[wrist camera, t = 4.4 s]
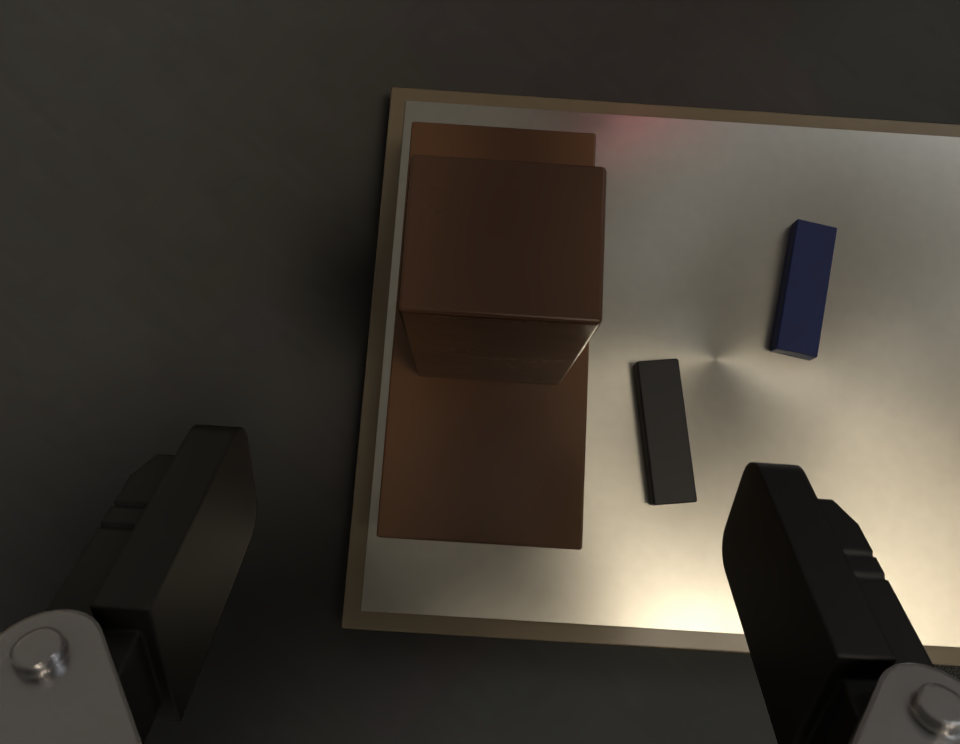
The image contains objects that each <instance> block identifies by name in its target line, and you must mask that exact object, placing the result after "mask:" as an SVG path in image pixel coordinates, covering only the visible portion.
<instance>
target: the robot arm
mask: <svg viewBox="0 0 960 744" xmlns="http://www.w3.org/2000/svg"><path fill="white" fill-rule="evenodd" d="M256 505H257V504H256V493H255V486H254V479H253V472H252V465H251V458H250V451H249V445H248V438H247V434H246V431H245V430H244V428H242V427H227V426H212V425H194V426H193V427H192V428H191V429H190V430H189V432H188V434H187V435H186V437H185V439H184V441H183V442H182V444H181V446H180V448H179V449H178V451H177V453H176V455H159V454H157V455H156V456H155V457H153V458H152V459H151V460H150V461H148V462H147V463H146V464H144V465H143V466H142V467H141V468H139V469H138V470H137V471H136V472H134V473H133V474H132V475H130V477H129V478H128V480H127V482H126V483H125V485H124V486H123V488H122V490H121V491H120V493H119V495H118V496H117V498H116V499H115V501H114V506H111V507H110V509H109V511H108V512H107V514H106V515H105V517H104V519H103V520H102V522H101V527H100V528H97V530H96V531H95V533H94V535H93V536H92V538H91V539H90V541H89V543H88V544H87V546H86V547H85V549H84V551H83V552H82V554H81V555H80V557H79V559H78V560H77V562H76V563H75V565H74V567H73V568H72V570H71V571H70V573H69V575H68V576H67V578H66V579H65V581H64V583H63V584H62V586H61V587H60V589H59V591H58V592H57V594H56V596H55V597H54V599H53V600H52V602H51V604H50V605H49V607H48V608H47V609H46V611H45V612H41V613H38V614H35V615H32V616H29V617H27V618H25V619H23V620H21V621H19V622H17V623H15V624H14V625H12V626H10V627H9V628H7V629H6V630H5V631H3V632H2V633H1V634H0V744H144V742H145V740H146V738H147V735H148V733H149V730H150V728H151V726H152V723H153V721H154V719H160V720H176V721H181V719H182V716H183V714H184V711H185V708H186V706H187V703H188V701H189V698H190V695H191V693H192V690H193V688H194V685H195V682H196V680H197V677H198V675H199V672H200V669H201V667H202V664H203V662H204V659H205V657H206V654H207V651H208V649H209V646H210V644H211V641H212V638H213V636H214V633H215V631H216V628H217V625H218V623H219V620H220V618H221V615H222V612H223V610H224V607H225V605H226V602H227V599H228V597H229V594H230V592H231V589H232V586H233V584H234V581H235V579H236V576H237V573H238V571H239V568H240V566H241V563H242V560H243V558H244V555H245V553H246V550H247V547H248V545H249V542H250V540H251V537H252V534H253V530H254V525H255V519H256ZM722 559H723V565H724V570H725V573H726V576H727V580H728V583H729V586H730V589H731V593H732V596H733V599H734V602H735V606H736V609H737V612H738V615H739V619H740V622H741V625H742V628H743V632H744V635H745V638H746V641H747V645H748V648H749V651H750V654H751V658H752V661H753V664H754V667H755V671H756V674H757V677H758V680H759V684H760V687H761V690H762V693H763V697H764V700H765V703H766V706H767V710H768V713H769V716H770V719H771V723H772V726H773V729H774V732H775V736H776V739H777V742H778V744H960V680H959V679H957V678H955V677H954V676H952V675H950V674H948V673H946V672H944V671H942V670H940V669H937V668H935V667H934V665H933V663H932V661H931V660H930V658H929V656H928V654H927V652H926V650H925V648H924V646H923V645H922V643H921V641H920V639H919V637H918V635H917V633H916V631H915V630H914V628H913V626H912V624H911V622H910V620H909V618H908V616H907V615H906V613H905V611H904V609H903V607H902V605H901V603H900V601H899V600H898V598H897V596H896V594H895V592H894V590H893V588H892V586H891V584H890V583H889V581H888V580H885V573H884V571H883V569H882V568H881V566H880V564H879V562H878V560H877V558H876V557H873V551H872V549H871V547H870V545H869V543H868V541H867V539H866V538H865V536H864V534H863V532H862V530H861V528H860V526H859V524H858V523H857V522H855V521H854V520H853V519H852V518H851V517H850V516H849V515H848V514H847V513H846V512H845V511H844V510H843V509H842V508H841V507H840V506H839V505H838V504H837V503H836V502H835V501H833V500H831V499H818V498H817V496H816V494H815V492H814V490H813V488H812V486H811V484H810V482H809V480H808V478H807V476H806V474H805V472H804V470H803V469H802V468H801V467H800V466H799V465H790V464H775V463H760V462H750V463H748V464H747V466H746V467H745V469H744V471H743V474H742V477H741V480H740V483H739V486H738V489H737V492H736V495H735V498H734V501H733V504H732V507H731V510H730V513H729V516H728V519H727V522H726V525H725V529H724V533H723V539H722Z"/></svg>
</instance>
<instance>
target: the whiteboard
mask: <svg viewBox="0 0 960 744" xmlns="http://www.w3.org/2000/svg"><path fill="white" fill-rule="evenodd" d="M412 122H428V123H443V124H458V125H473V126H488V127H503V128H518V129H534V130H549V131H564V132H579V133H594V134H596V154H595V166H596V167H604V168H605V169H606V172H607V182H606V215H605V248H604V281H603V314H602V322H601V324H600V326H599V327H598V329H597V330H596V332H595V333H594V335H593V336H592V338H591V339H590V340H589V362H588V392H587V421H586V451H585V481H584V510H583V540H582V549H580V550H574V549H558V548H542V547H526V546H510V545H494V544H478V543H462V542H445V541H429V540H413V539H397V538H381V537H377V535H376V533H377V522H378V510H379V499H380V487H381V475H382V464H383V452H384V440H385V429H386V417H387V405H388V394H389V382H390V371H391V359H392V347H393V336H394V324H395V312H396V301H397V289H398V277H399V266H400V254H401V243H402V231H403V219H404V208H405V196H406V184H407V173H408V161H409V150H410V138H411V126H412ZM797 219H801V220H805V221H809V222H814V223H818V224H822V225H827V226H831V227H835V228H837V233H836V240H835V246H834V253H833V259H832V266H831V272H830V278H829V285H828V291H827V298H826V304H825V311H824V317H823V324H822V330H821V337H820V343H819V350H818V356H817V357H816V358H814V359H812V360H805V359H800V358H796V357H792V356H788V355H784V354H779V353H775V352H771V351H770V347H771V341H772V335H773V329H774V323H775V317H776V311H777V305H778V299H779V293H780V288H781V282H782V276H783V270H784V264H785V258H786V252H787V246H788V240H789V234H790V228H791V225H792V224H793V223H794V222H795V221H796V220H797ZM675 358H676V359H678V360H679V367H680V375H681V382H682V390H683V397H684V405H685V413H686V420H687V428H688V435H689V443H690V450H691V458H692V465H693V473H694V481H695V488H696V496H697V502H693V503H680V504H668V505H655V506H652V505H650V500H649V491H648V483H647V475H646V467H645V458H644V450H643V442H642V433H641V425H640V417H639V408H638V400H637V392H636V383H635V375H634V367H633V366H634V364H635V363H636V362H638V361H648V360H661V359H675ZM750 462H760V463H775V464H790V465H799V466H800V467H801V468H802V469H803V470H804V472H805V474H806V476H807V478H808V480H809V482H810V484H811V486H812V488H813V490H814V492H815V494H816V496H817V498H818V499H831V500H833V501H835V502H836V503H837V504H838V505H839V506H840V507H841V508H842V509H843V510H844V511H845V512H846V513H847V514H848V515H849V516H850V517H851V518H852V519H853V520H854V521H855V522H857V523H858V524H859V526H860V528H861V530H862V532H863V534H864V536H865V538H866V539H867V541H868V543H869V545H870V547H871V549H872V551H873V557H876V558H877V560H878V562H879V564H880V566H881V568H882V569H883V571H884V573H885V580H888V581H889V583H890V584H891V586H892V588H893V590H894V592H895V594H896V596H897V598H898V600H899V601H900V603H901V605H902V607H903V609H904V611H905V613H906V615H907V616H908V618H909V620H910V622H911V624H912V626H913V628H914V630H915V631H916V633H917V635H918V637H919V639H920V641H921V643H922V645H923V646H924V648H925V650H926V652H927V654H928V656H929V658H930V660H931V661H932V663H933V665H947V666H960V125H952V124H937V123H922V122H907V121H892V120H877V119H862V118H847V117H832V116H817V115H802V114H787V113H772V112H757V111H742V110H727V109H712V108H696V107H681V106H666V105H651V104H636V103H621V102H606V101H591V100H576V99H561V98H546V97H531V96H516V95H501V94H486V93H471V92H456V91H441V90H426V89H411V88H396V87H392V89H391V98H390V109H389V119H388V130H387V141H386V152H385V163H384V173H383V184H382V195H381V206H380V217H379V227H378V238H377V249H376V260H375V270H374V281H373V292H372V303H371V314H370V324H369V335H368V346H367V357H366V368H365V378H364V389H363V400H362V411H361V422H360V432H359V443H358V454H357V465H356V476H355V486H354V497H353V508H352V519H351V530H350V540H349V551H348V562H347V573H346V584H345V594H344V605H343V616H342V628H343V629H358V630H375V631H391V632H408V633H424V634H440V635H457V636H473V637H489V638H506V639H522V640H538V641H555V642H571V643H587V644H604V645H620V646H636V647H653V648H669V649H686V650H702V651H718V652H735V653H750V651H749V648H748V645H747V641H746V638H745V635H744V632H743V628H742V625H741V622H740V619H739V615H738V612H737V609H736V606H735V602H734V599H733V596H732V593H731V589H730V586H729V583H728V580H727V576H726V573H725V570H724V565H723V559H722V539H723V533H724V529H725V525H726V522H727V519H728V516H729V513H730V510H731V507H732V504H733V501H734V498H735V495H736V492H737V489H738V486H739V483H740V480H741V477H742V474H743V471H744V469H745V467H746V466H747V464H748V463H750Z"/></svg>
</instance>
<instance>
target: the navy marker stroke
mask: <svg viewBox="0 0 960 744" xmlns="http://www.w3.org/2000/svg"><path fill="white" fill-rule="evenodd" d="M836 233H837V228H835V227H831V226H827V225H822V224H818V223H814V222H809V221H805V220H801V219H797V220H796V221H795V222H794V223H793V224H792V225H791V228H790V234H789V240H788V246H787V252H786V258H785V264H784V270H783V276H782V282H781V288H780V293H779V299H778V305H777V311H776V317H775V323H774V329H773V335H772V341H771V347H770V351H771V352H775V353H779V354H784V355H788V356H792V357H796V358H800V359H805V360H812V359H814V358H816V357H817V356H818V350H819V343H820V337H821V330H822V324H823V317H824V311H825V304H826V298H827V291H828V285H829V278H830V272H831V266H832V259H833V253H834V246H835V240H836Z"/></svg>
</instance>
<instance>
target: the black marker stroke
mask: <svg viewBox="0 0 960 744" xmlns="http://www.w3.org/2000/svg"><path fill="white" fill-rule="evenodd" d="M633 367H634V375H635V383H636V392H637V400H638V408H639V417H640V425H641V433H642V442H643V450H644V458H645V467H646V475H647V483H648V491H649V500H650V505H652V506H655V505H668V504H680V503H693V502H697V496H696V488H695V481H694V473H693V465H692V458H691V450H690V443H689V435H688V428H687V420H686V413H685V405H684V397H683V390H682V382H681V375H680V367H679V360H678V359H676V358H675V359H661V360H648V361H638V362H636V363H635V364H634V366H633Z"/></svg>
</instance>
